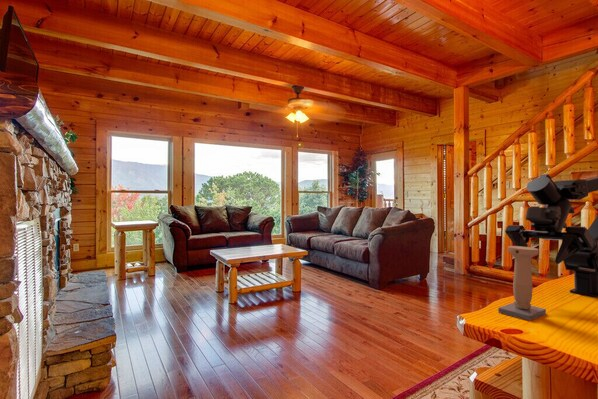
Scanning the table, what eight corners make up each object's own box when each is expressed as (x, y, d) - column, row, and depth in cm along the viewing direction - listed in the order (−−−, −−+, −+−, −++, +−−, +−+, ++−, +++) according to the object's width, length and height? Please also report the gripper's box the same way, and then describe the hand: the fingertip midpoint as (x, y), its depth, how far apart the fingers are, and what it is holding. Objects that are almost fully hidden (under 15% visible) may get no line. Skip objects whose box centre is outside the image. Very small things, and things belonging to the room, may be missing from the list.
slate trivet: (515, 306, 86) (515, 301, 86) (545, 313, 80) (545, 309, 80) (498, 312, 82) (498, 307, 82) (529, 320, 76) (529, 315, 76)
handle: (530, 313, 78) (531, 250, 78) (503, 305, 83) (503, 246, 83) (542, 310, 80) (542, 249, 80) (515, 302, 86) (515, 245, 85)
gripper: (506, 197, 97) (486, 239, 91) (584, 194, 80) (566, 244, 75) (522, 222, 100) (504, 263, 95) (601, 223, 84) (584, 273, 78)
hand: (536, 260), depth 86 cm, fingers open, 9 cm apart
